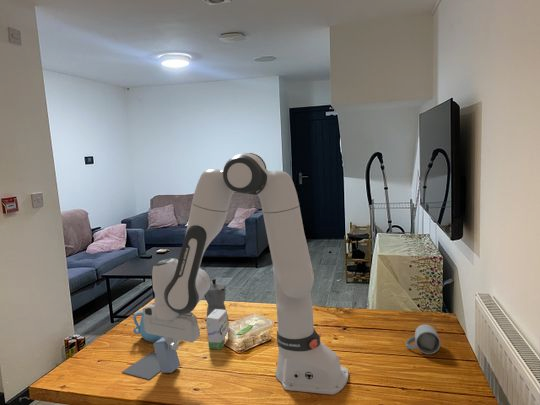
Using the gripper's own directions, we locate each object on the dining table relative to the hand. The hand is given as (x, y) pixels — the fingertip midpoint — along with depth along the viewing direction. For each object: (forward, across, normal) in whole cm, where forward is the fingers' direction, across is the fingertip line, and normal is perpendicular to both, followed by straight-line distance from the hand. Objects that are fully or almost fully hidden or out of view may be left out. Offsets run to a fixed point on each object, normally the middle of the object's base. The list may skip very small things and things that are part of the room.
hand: (173, 349), depth 133 cm
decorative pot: (+8, +23, -19) cm, 31 cm away
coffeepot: (+8, +10, -38) cm, 40 cm away
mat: (+8, +11, 0) cm, 14 cm away
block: (+7, +2, 0) cm, 8 cm away
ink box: (+8, -3, -21) cm, 23 cm away
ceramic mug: (+8, -72, -42) cm, 83 cm away
